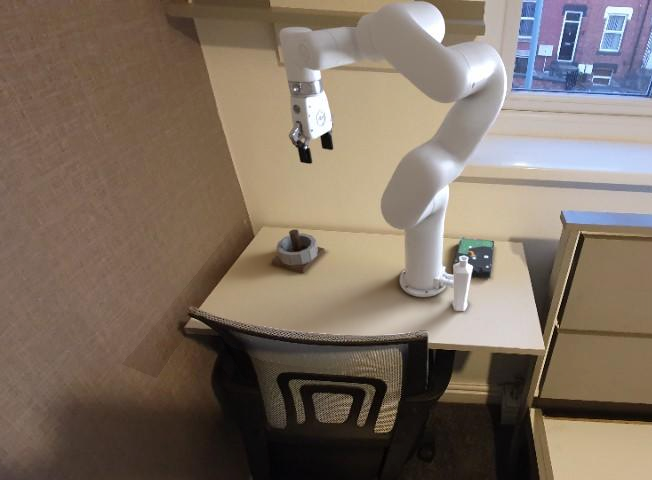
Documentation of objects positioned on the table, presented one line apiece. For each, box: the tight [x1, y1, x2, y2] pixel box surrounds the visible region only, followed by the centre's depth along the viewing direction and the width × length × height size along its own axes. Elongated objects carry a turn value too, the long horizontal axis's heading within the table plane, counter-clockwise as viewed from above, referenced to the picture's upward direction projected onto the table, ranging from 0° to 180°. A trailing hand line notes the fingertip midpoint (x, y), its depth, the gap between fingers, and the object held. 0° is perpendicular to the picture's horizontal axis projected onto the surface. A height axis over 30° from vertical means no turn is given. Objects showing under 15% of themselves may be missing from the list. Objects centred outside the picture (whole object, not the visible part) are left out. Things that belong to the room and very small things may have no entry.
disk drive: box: [453, 236, 495, 279], centre depth 113 cm, size 10×3×15 cm
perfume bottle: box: [451, 255, 473, 312], centre depth 94 cm, size 5×4×15 cm
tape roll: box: [276, 232, 318, 266], centre depth 109 cm, size 10×10×4 cm
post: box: [271, 229, 326, 274], centre depth 109 cm, size 10×10×9 cm
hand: (317, 155), depth 103 cm, fingers open, 9 cm apart
